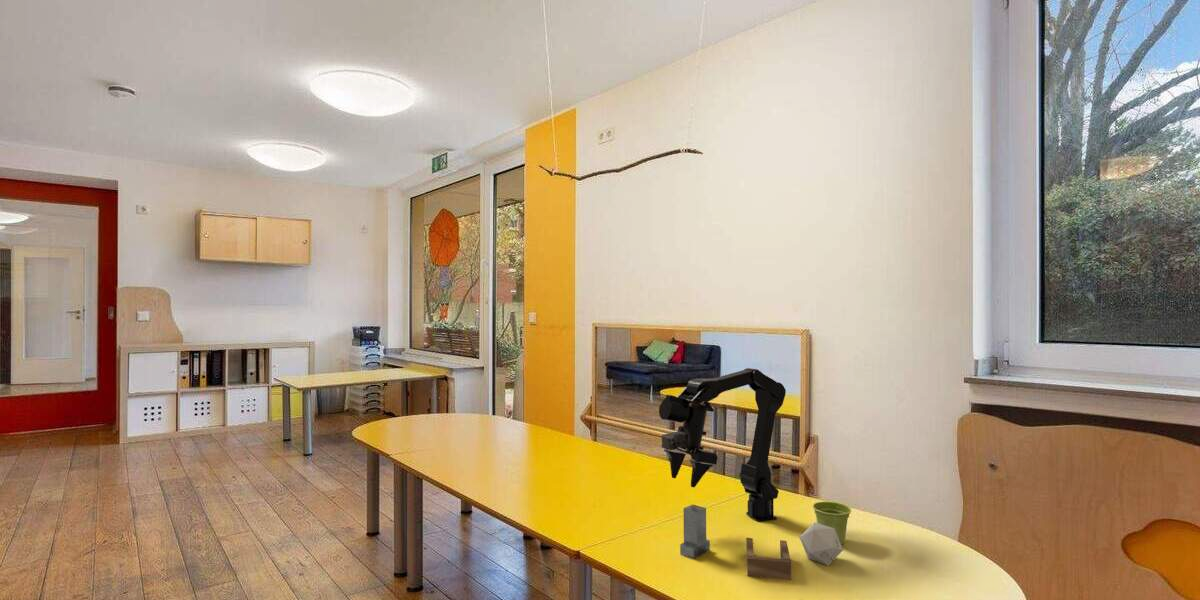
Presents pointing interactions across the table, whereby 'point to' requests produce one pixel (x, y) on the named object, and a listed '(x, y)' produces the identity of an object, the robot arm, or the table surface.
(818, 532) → the die
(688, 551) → the grey pillar with base
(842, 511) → the plant pot
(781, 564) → the brown u-shaped block
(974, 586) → the table surface
